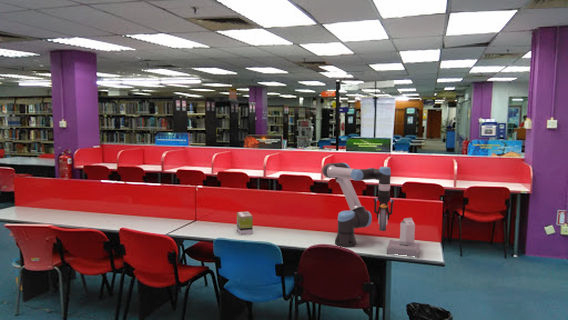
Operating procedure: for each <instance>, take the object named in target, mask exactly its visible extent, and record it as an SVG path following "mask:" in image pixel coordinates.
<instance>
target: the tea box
mask: <svg viewBox="0 0 568 320" xmlns="http://www.w3.org/2000/svg"><path fill="white" fill-rule="evenodd" d="M253 219H254V218H253V215H252V214H251V212H249V211H239V212H237V211H236V230H237V232H238V233H239V235H240V236H244V235H252V234H253V231H254V230H253V223H254V222H253Z"/></svg>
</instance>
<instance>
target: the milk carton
mask: <svg viewBox="0 0 568 320" xmlns="http://www.w3.org/2000/svg"><path fill="white" fill-rule="evenodd" d="M399 228H400V229H399V230H400V231H399V233H400V234H399V241H402V242H411V243H415V234H416V233H415V231H416V224H415V222H414V220H413V217H406V218H403V220H402V221H401V222H400V226H399Z"/></svg>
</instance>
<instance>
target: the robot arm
mask: <svg viewBox="0 0 568 320" xmlns="http://www.w3.org/2000/svg"><path fill="white" fill-rule="evenodd" d="M321 173H322V175H323V176H324V177H325V178H327V179H334V180H335V182H336V183H338V184H339V186H340V189H341V191H342V193H343V196H344V197H345V200H346V203H347V205H348V207H349V210H342V211H340V212H338V214H337V232H336V236H335V240H334V245H336V246H338V247H341V246H342V248H352V247H351V246H353V247H356V246H357V239H356V236H355V229H360V228H367V227H369V226H370V225H371V224H372V221H373V217H372V213H371V212H370V211H369V210H366V208H365V206H362V204H361V201H360V199H359V197H358V195H357V193H356V190H355V189H354V188H355V187H354V186H353V184H352V182H351V180H353V181H354V182H355V181H357V182H359V181H370V180H375V181H378V191H377V192H378V193H377V194H378V195H377V197H375V198H373V202H374V212H373V213H374V214H376V219H378V220H377V221H378V223H377V224H378V225H379V224H380V207H379V205H381V204H385V205H386V206H388V207H387V208H386V210H387V215H386V226H387V225H388V221H389V220H390V217H391V215H393V212H394V211H393V210H394V209H393V208H394V202H395V200H394V199H392V198H391V191H390V190H391V175H392V172H391V167H388V166H380V167H379V168H375V167H369V168H364V169H363V168H361V169H360V168H352V167H351V166H350V165H349V164H348V163H346V162H333V163H331V162H330V163H326V164H325V165H324V166H323V168H322V172H321ZM377 201H378V202H379V204H378V205H377V203H378V202H377ZM389 203H390V208H389ZM377 207H378V208H377ZM355 245H356V246H355Z"/></svg>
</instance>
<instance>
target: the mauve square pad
mask: <svg viewBox="0 0 568 320" xmlns="http://www.w3.org/2000/svg"><path fill="white" fill-rule="evenodd" d="M420 245H421V243H419V242H414V243H411V242H402V241H400V240H393V239H390V240H389V242H388V245H387V247H386V254H387V253H388V254H387V255H389V254H398V255H407V256H415V257H419V258H420V251H419V250H420V248H421V246H420Z"/></svg>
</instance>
